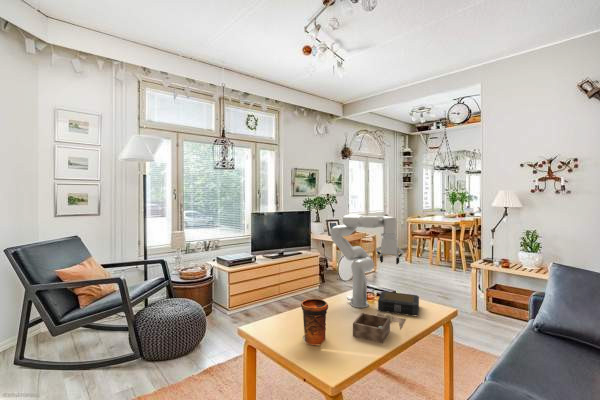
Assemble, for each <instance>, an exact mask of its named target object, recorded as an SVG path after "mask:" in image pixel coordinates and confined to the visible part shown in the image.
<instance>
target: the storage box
mask: <svg viewBox="0 0 600 400" xmlns="http://www.w3.org/2000/svg"><path fill="white" fill-rule="evenodd" d="M376 315H377V314H376ZM376 315H375V314H369V313H366V312H362V313H360V314H359V316H358V317H357V318H356V319H355V320H354V321H353V322H352V336H353V337H355V338H360V339H363V340H364V339H365V340H367V341H372V342H376V343H380V344H384V342H385V340H386V338H388V337H387V336H388V335H389V333H390V332H391V322H390V318H386V317H381V316H376ZM379 326H382V328H378V327H379Z"/></svg>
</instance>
